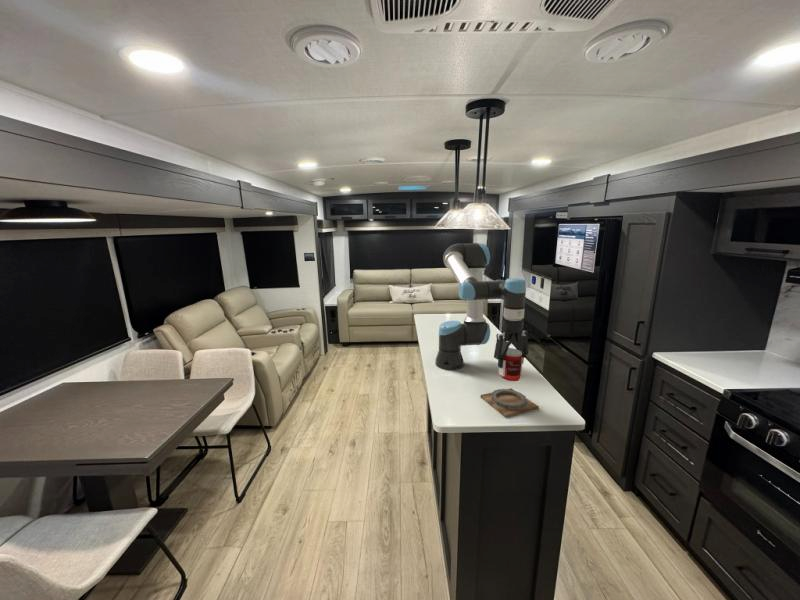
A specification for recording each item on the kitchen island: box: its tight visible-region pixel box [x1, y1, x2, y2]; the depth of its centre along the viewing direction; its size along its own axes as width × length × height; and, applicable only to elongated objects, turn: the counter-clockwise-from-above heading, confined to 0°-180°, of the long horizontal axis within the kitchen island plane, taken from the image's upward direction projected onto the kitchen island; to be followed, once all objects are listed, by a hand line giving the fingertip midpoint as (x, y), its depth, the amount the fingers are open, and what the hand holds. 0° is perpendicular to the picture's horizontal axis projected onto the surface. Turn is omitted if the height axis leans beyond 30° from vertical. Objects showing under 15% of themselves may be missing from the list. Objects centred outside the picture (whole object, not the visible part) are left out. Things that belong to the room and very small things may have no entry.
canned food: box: [500, 347, 523, 382], centre depth 120 cm, size 8×8×11 cm
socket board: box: [480, 387, 540, 419], centre depth 123 cm, size 16×16×3 cm
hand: (510, 373), depth 121 cm, fingers closed on canned food, 8 cm apart
